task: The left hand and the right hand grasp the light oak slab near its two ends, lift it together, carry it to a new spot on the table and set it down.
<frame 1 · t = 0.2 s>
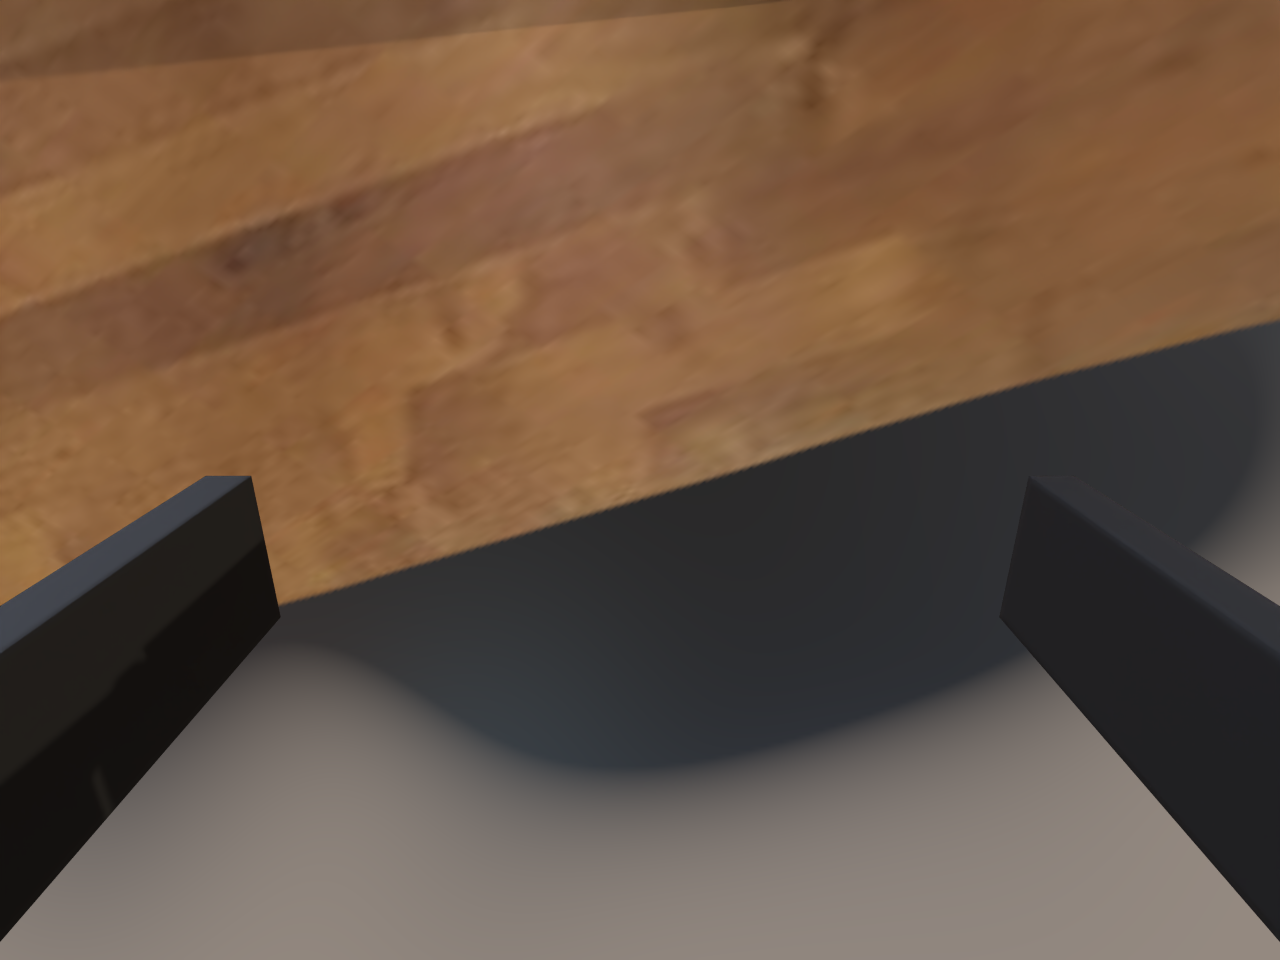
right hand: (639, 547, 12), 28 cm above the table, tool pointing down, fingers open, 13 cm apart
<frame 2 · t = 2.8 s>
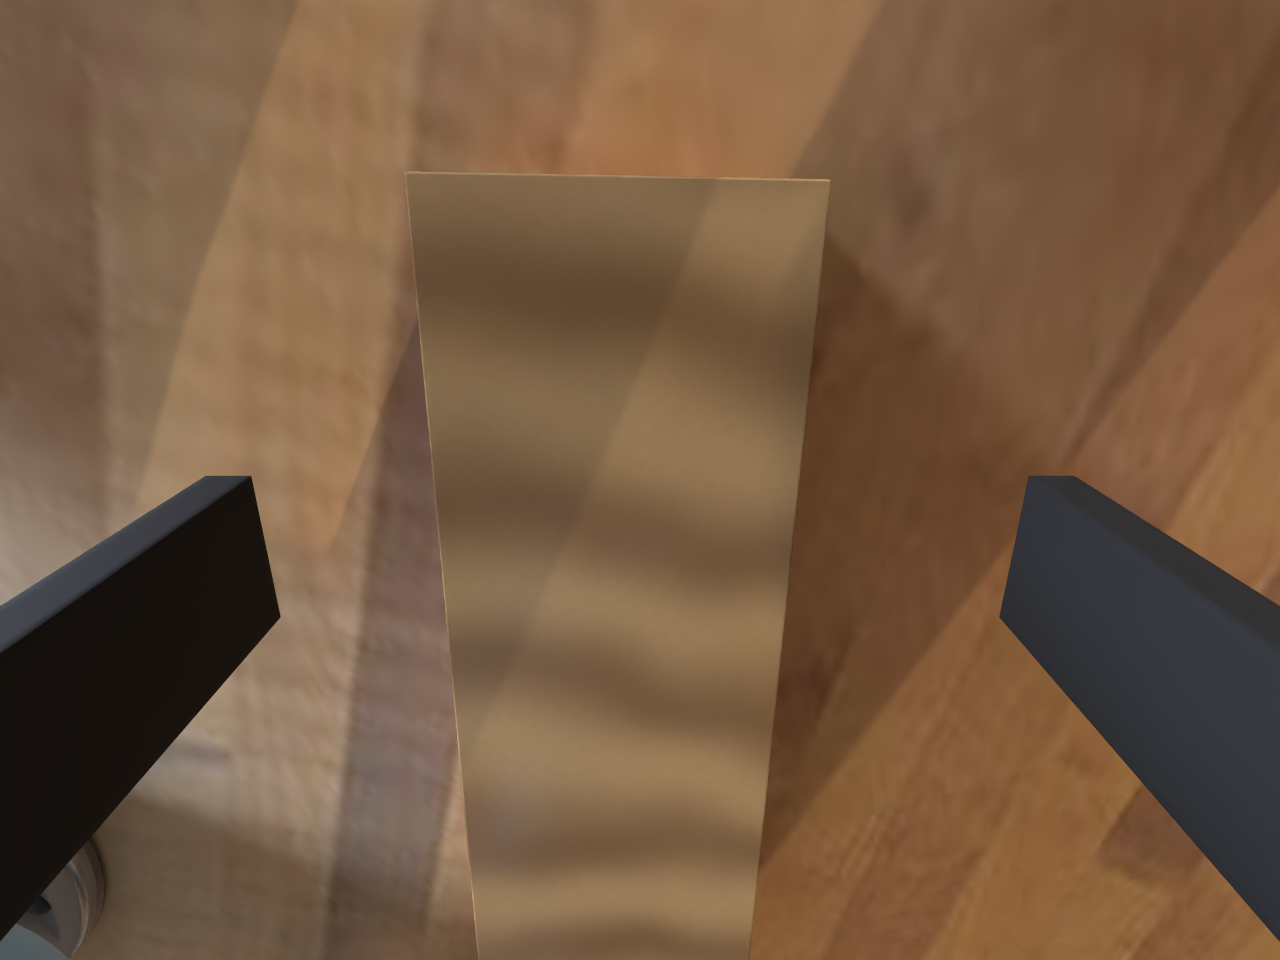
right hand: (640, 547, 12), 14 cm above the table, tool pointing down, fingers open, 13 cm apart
slab: (617, 903, 35), on the table, touching left hand
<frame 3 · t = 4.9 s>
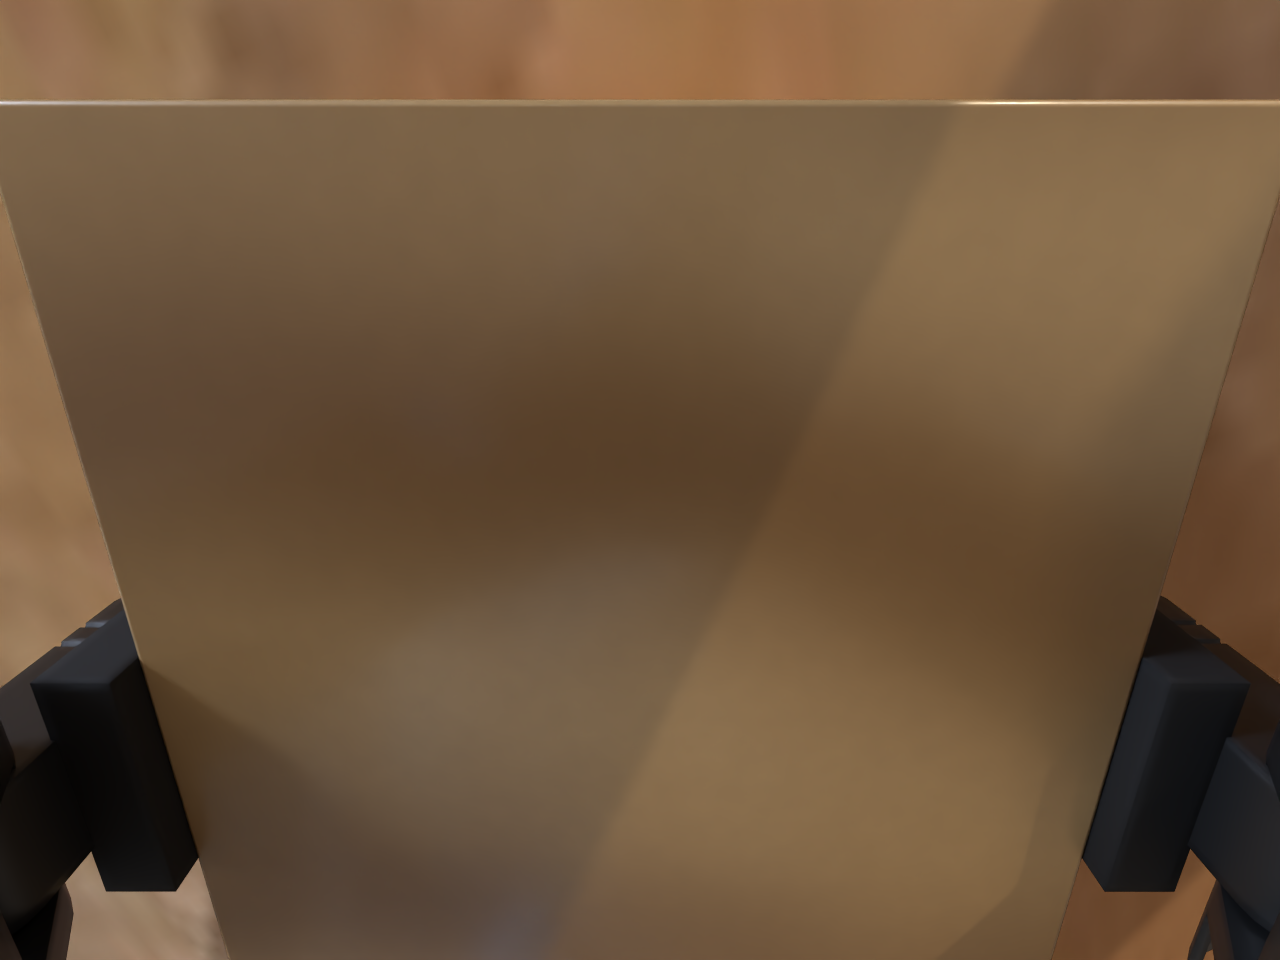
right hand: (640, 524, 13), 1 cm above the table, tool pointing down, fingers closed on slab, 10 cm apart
when the left hand's fingers open (2 cm above the table, at t = 12.6 s): slab stays where it is, on the table.
when the right hand's fingers open (2 cm above the table, at t = 12.6 s): slab stays where it is, on the table.
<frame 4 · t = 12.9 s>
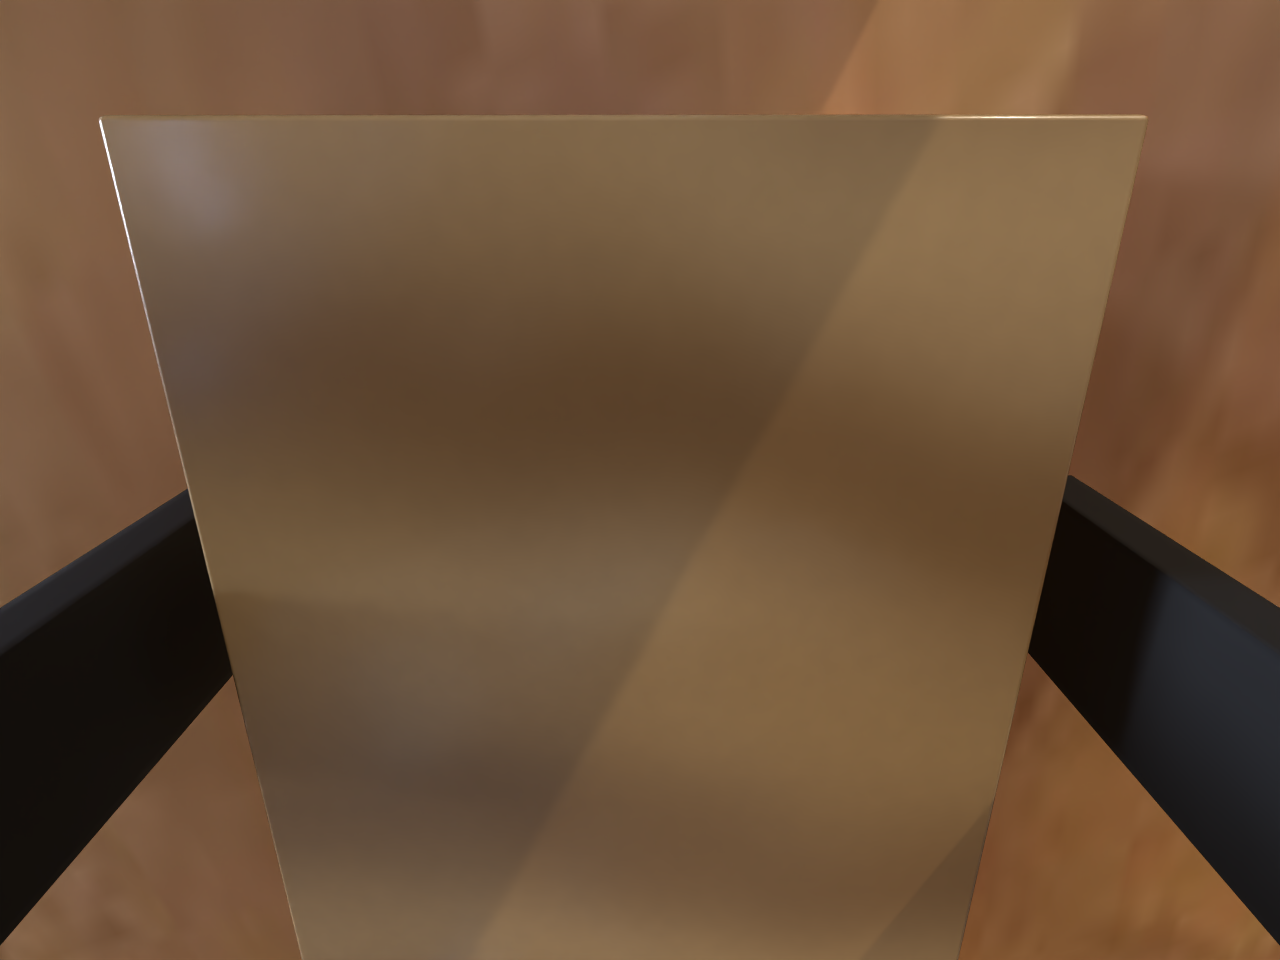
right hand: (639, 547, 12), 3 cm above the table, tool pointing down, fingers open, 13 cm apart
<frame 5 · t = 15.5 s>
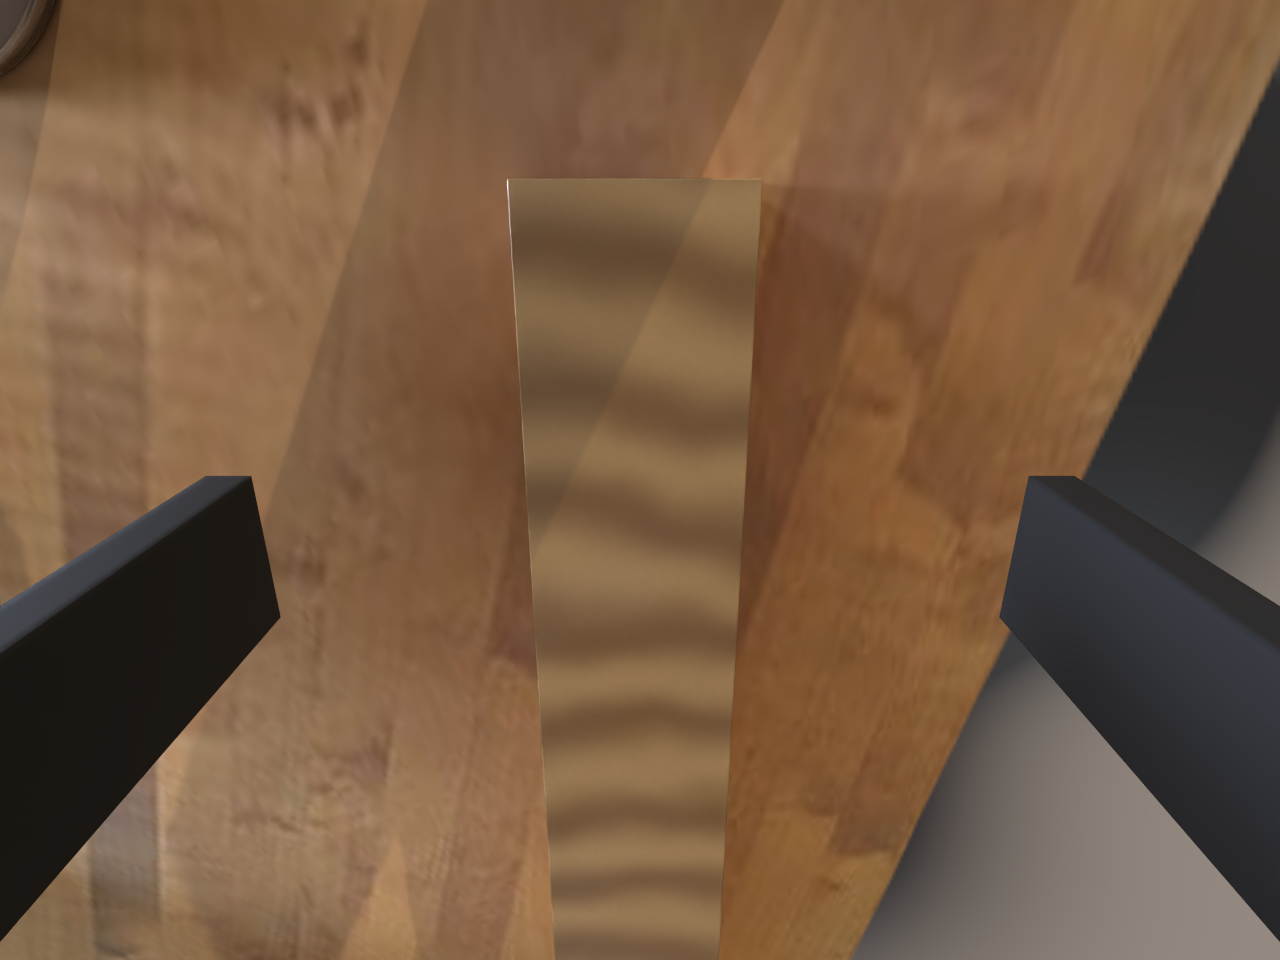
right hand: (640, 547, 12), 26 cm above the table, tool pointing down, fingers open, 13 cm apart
slab: (636, 729, 46), on the table
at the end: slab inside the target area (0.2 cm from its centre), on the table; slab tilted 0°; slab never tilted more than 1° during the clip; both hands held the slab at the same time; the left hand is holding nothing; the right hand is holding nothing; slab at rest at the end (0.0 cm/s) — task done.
